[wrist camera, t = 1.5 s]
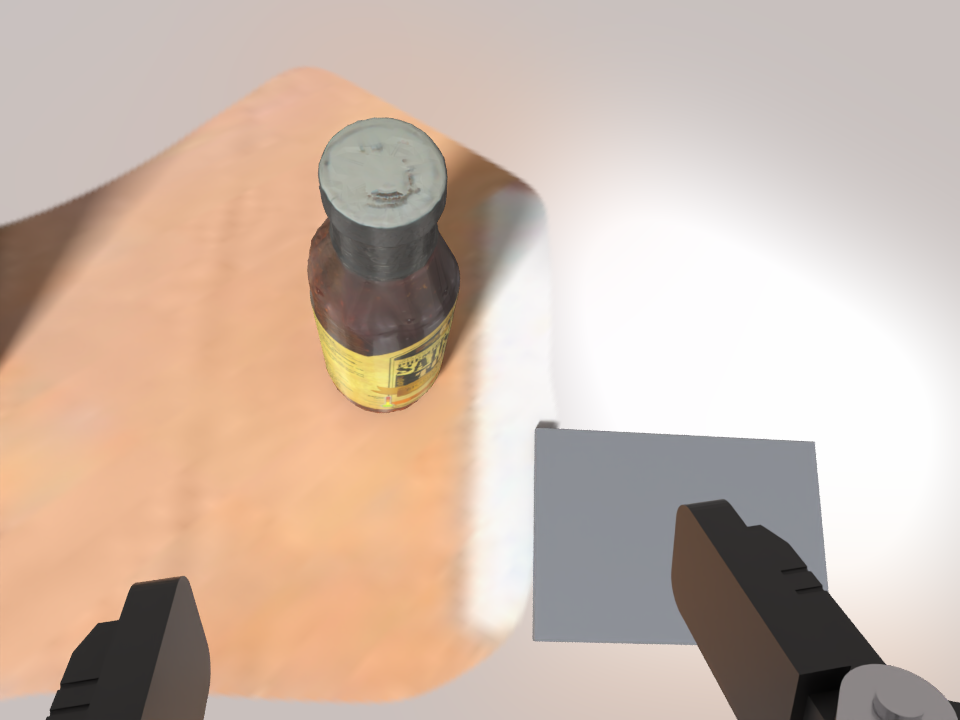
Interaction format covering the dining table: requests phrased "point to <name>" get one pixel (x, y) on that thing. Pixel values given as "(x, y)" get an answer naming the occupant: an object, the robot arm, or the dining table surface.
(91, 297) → the dining table surface
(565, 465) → the gray mat
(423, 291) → the sauce bottle
